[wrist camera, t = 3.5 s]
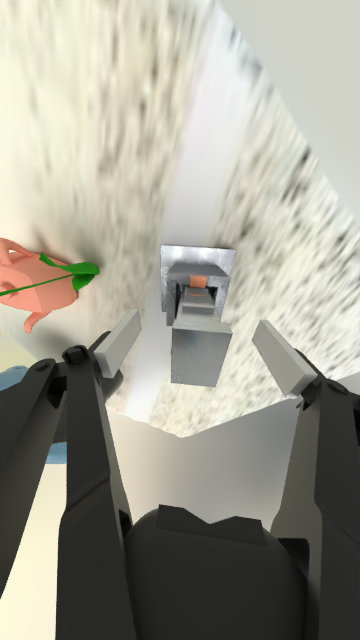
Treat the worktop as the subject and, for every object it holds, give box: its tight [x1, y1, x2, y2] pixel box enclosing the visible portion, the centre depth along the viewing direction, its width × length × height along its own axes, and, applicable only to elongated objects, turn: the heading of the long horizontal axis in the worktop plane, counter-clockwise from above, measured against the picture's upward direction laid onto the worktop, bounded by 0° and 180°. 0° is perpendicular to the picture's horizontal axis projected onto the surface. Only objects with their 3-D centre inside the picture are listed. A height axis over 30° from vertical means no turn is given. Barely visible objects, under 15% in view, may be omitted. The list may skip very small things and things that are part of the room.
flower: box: [0, 253, 99, 296], centre depth 16 cm, size 9×8×30 cm
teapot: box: [0, 238, 77, 334], centre depth 27 cm, size 12×18×10 cm, turn 167°
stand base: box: [161, 245, 236, 326], centre depth 24 cm, size 14×14×12 cm
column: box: [171, 284, 233, 387], centre depth 19 cm, size 4×6×21 cm
